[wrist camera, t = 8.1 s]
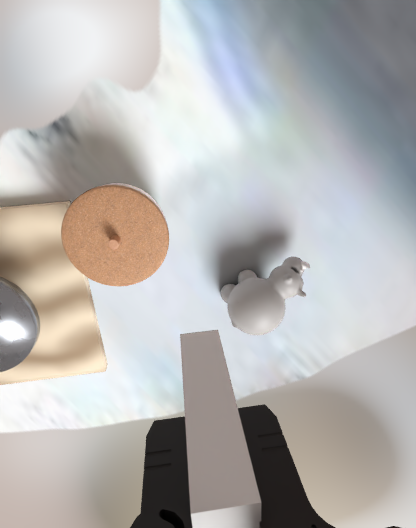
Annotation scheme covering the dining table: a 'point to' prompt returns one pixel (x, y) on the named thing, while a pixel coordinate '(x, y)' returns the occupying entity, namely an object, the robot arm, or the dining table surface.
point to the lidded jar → (115, 234)
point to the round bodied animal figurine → (263, 296)
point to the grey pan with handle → (16, 325)
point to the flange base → (49, 295)
